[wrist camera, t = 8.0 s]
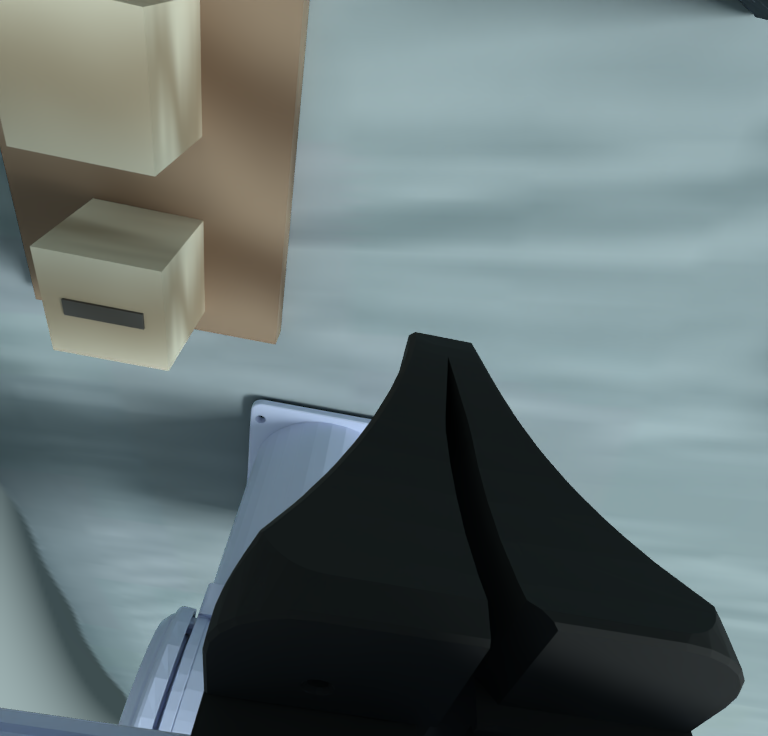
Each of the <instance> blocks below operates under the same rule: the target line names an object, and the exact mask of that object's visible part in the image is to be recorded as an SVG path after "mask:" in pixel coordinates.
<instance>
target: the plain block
mask: <svg viewBox="0 0 768 736" xmlns="http://www.w3.org/2000/svg"><path fill="white" fill-rule="evenodd" d="M0 119H1V123H2V128H3V132H4V136H5V141H6V145H7V146H9V147H14V148H19V149H23V150H28V151H33V152H38V153H43V154H48V155H53V156H57V157H62V158H67V159H72V160H77V161H82V162H86V163H91V164H96V165H101V166H106V167H111V168H116V169H120V170H125V171H130V172H135V173H140V174H145V175H149V176H154V177H155V176H156V175H158V174H159V173H160V172H161V171H162V170H164V169H165V168H166V167H167V166H168V165H169V164H171V163H172V162H173V161H174V160H175V159H176V158H178V157H179V156H180V155H181V154H182V153H184V152H185V151H186V150H187V149H188V148H189V147H191V146H192V145H193V144H194V143H195V142H196V141H198V140H199V139H200V138H201V137H202V100H201V36H200V0H0Z"/></svg>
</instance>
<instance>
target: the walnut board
mask: <svg viewBox="0 0 768 736" xmlns="http://www.w3.org/2000/svg"><path fill="white" fill-rule="evenodd" d="M308 12H309V0H200V36H201V100H202V137H201V138H200V139H199V140H198V141H196V142H195V143H194V144H193V145H192V146H191V147H189V148H188V149H187V150H186V151H185V152H184V153H182V154H181V155H180V156H179V157H178V158H176V159H175V160H174V161H173V162H172V163H171V164H169V165H168V166H167V167H166V168H165V169H164V170H162V171H161V172H160V173H159V174H158V175H156V176H155V177H154V176H149V175H145V174H140V173H135V172H130V171H125V170H120V169H116V168H111V167H106V166H101V165H96V164H91V163H86V162H82V161H77V160H72V159H67V158H62V157H57V156H53V155H48V154H43V153H38V152H33V151H28V150H23V149H19V148H14V147H9V146H7V145H6V141H5V136H4V132H3V128H2V123H1V119H0V149H1V153H2V157H3V162H4V166H5V170H6V174H7V178H8V183H9V187H10V191H11V195H12V200H13V204H14V208H15V212H16V216H17V221H18V225H19V229H20V233H21V237H22V242H23V246H24V250H25V254H26V259H27V263H28V267H29V271H30V275H31V280H32V284H33V288H34V292H35V297H36V299H38V300H42V297H41V293H40V289H39V284H38V280H37V276H36V271H35V267H34V263H33V258H32V254H31V250H30V246H31V245H32V244H33V243H35V242H36V241H37V240H38V239H40V238H41V237H42V236H44V235H45V234H46V233H48V232H49V231H50V230H52V229H53V228H54V227H56V226H57V225H58V224H60V223H61V222H62V221H64V220H65V219H66V218H68V217H69V216H70V215H72V214H73V213H74V212H75V211H77V210H78V209H79V208H81V207H82V206H83V205H85V204H86V203H87V202H89V201H90V200H91V199H93V198H94V199H99V200H104V201H109V202H114V203H119V204H124V205H129V206H133V207H138V208H143V209H148V210H153V211H158V212H163V213H168V214H173V215H178V216H183V217H188V218H193V219H198V220H203V226H204V290H205V312H204V314H203V315H202V317H201V319H200V320H199V322H198V323H197V325H196V327H195V328H194V329H197V330H202V331H207V332H213V333H218V334H223V335H229V336H234V337H239V338H244V339H250V340H255V341H260V342H266V343H271V344H276V342H277V339H278V337H279V334H280V331H281V320H282V309H283V297H284V286H285V275H286V263H287V252H288V240H289V229H290V217H291V206H292V195H293V183H294V172H295V160H296V149H297V138H298V126H299V115H300V103H301V92H302V80H303V69H304V58H305V46H306V35H307V23H308Z"/></svg>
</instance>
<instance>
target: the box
mask: <svg viewBox="0 0 768 736" xmlns="http://www.w3.org/2000/svg"><path fill="white" fill-rule="evenodd" d="M739 1H740V2H741V3H742V4H743V5H744V6H745V7H746V8H747V9H749V10H750V11H751V12H752V13H753V14H754V16H755V17H757V18H762V19H765V20H768V0H739Z"/></svg>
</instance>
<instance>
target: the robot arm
mask: <svg viewBox="0 0 768 736" xmlns="http://www.w3.org/2000/svg"><path fill="white" fill-rule="evenodd" d="M259 416H263V417H264V418H261V417H259ZM195 615H196V609H194V608H190V607H186V606H182V607H180V608H179V609H178V610H177V612H176V613H174V614H172V615H170V616H169V617H167V618H165V619H164V620H163V621H162V622H161V623H160V624H159V626H158V628H157V630H156V631H155V633H154V635H153V638H152V640H151V642H150V644H149V646H148V648H147V651H146V653H145V655H144V658H143V660H142V663H141V665H140V668H139V670H138V673H137V675H136V678H135V680H134V683H133V685H132V688H131V691H130V693H129V696H128V699H127V702H126V704H125V707H124V710H123V713H122V716H121V719H120V722H119V724H111V723H104V722H97V721H90V720H83V719H76V718H69V717H61V716H54V715H47V714H40V713H33V712H26V711H19V710H12V709H5V708H0V736H692V733H691V731H692V730H693V729H695V728H696V727H698V726H699V725H701V724H702V723H704V722H705V721H706V720H708V719H709V718H711V717H712V716H714V715H715V714H717V713H718V712H720V711H721V710H723V709H724V708H726V707H727V706H728V705H729V704H730V703H731V702H732V701H733V700H734V699H736V698H737V696H738V694H739V693H740V690H741V688H742V686H743V683H744V681H745V680H744V676H743V672H742V668H741V666H740V664H739V661H738V659H737V657H736V654H735V652H734V650H733V647H732V645H731V642H730V640H729V638H728V635H727V633H726V631H725V629H724V626H723V624H722V622H721V620H720V617H719V615H718V614H717V612H716V610H715V607H714V606H713V605H711V604H710V603H709V602H707V601H706V600H705V599H703V598H702V597H701V596H699V595H698V594H697V593H695V592H694V591H692V590H691V589H690V588H688V587H687V586H686V585H684V584H683V583H682V582H680V581H679V580H678V579H676V578H675V577H674V576H672V575H671V574H670V573H668V572H667V571H665V570H664V569H663V568H661V567H660V566H659V565H658V564H656V563H655V562H654V561H653V560H651V559H650V558H649V557H648V556H647V555H645V554H644V553H643V552H642V551H641V550H639V549H638V548H637V547H636V546H635V545H633V544H632V543H631V542H630V541H629V540H627V539H626V538H625V537H624V536H623V535H622V534H620V533H619V532H618V531H617V530H616V529H615V528H614V527H613V526H612V525H610V524H609V523H608V522H607V521H606V520H605V519H604V518H603V517H602V516H601V515H600V514H599V513H598V512H597V511H596V510H595V509H594V508H593V507H592V506H591V505H590V504H589V503H587V502H586V501H585V500H584V499H583V498H582V497H581V496H580V495H579V494H578V493H577V492H576V490H575V489H574V488H573V487H572V486H571V485H570V484H569V483H568V482H567V481H566V480H565V479H564V478H563V476H562V475H561V474H560V473H559V472H558V471H557V470H556V468H555V467H554V466H553V465H552V464H551V463H550V461H549V460H548V459H547V458H546V457H545V456H544V454H543V453H542V452H541V451H540V449H539V448H538V447H537V446H536V444H535V443H534V442H533V440H532V439H531V438H530V436H529V435H528V434H527V432H526V431H525V429H524V428H523V427H522V425H521V424H520V423H519V421H518V420H517V418H516V417H515V415H514V414H513V412H512V411H511V409H510V407H509V406H508V404H507V403H506V401H505V400H504V398H503V397H502V395H501V393H500V392H499V390H498V388H497V387H496V385H495V383H494V382H493V380H492V378H491V376H490V375H489V373H488V371H487V369H486V368H485V366H484V364H483V362H482V361H481V359H480V357H479V355H478V354H477V352H476V350H475V348H474V347H473V345H472V343H469V342H463V341H458V340H453V339H448V338H443V337H438V336H433V335H427V334H422V333H417V332H415V333H413V334H411V335H409V337H408V341H407V345H406V348H405V352H404V356H403V360H402V363H401V367H400V371H399V373H398V375H397V377H396V379H395V382H394V384H393V386H392V387H391V389H390V391H389V393H388V394H387V396H386V398H385V399H384V401H383V402H382V404H381V406H380V407H379V409H378V411H377V412H376V414H375V415H374V417H373V418H372V419H367V418H361V417H356V416H350V415H345V414H339V413H334V412H328V411H323V410H317V409H312V408H306V407H301V406H295V405H290V404H284V403H279V402H273V401H268V400H256V401H255V402H254V403H253V405H252V408H251V417H250V436H249V455H248V474H247V485H246V488H245V491H244V494H243V497H242V500H241V503H240V506H239V509H238V512H237V515H236V518H235V521H234V524H233V527H232V530H231V533H230V536H229V539H228V542H227V545H226V548H225V551H224V554H223V557H222V560H221V563H220V565H219V568H218V571H217V574H216V577H215V580H214V583H210V584H209V585H208V588H207V591H206V594H205V597H204V599H203V602H202V605H201V608H200V611H199V614H198V617H197V618H195Z"/></svg>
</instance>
